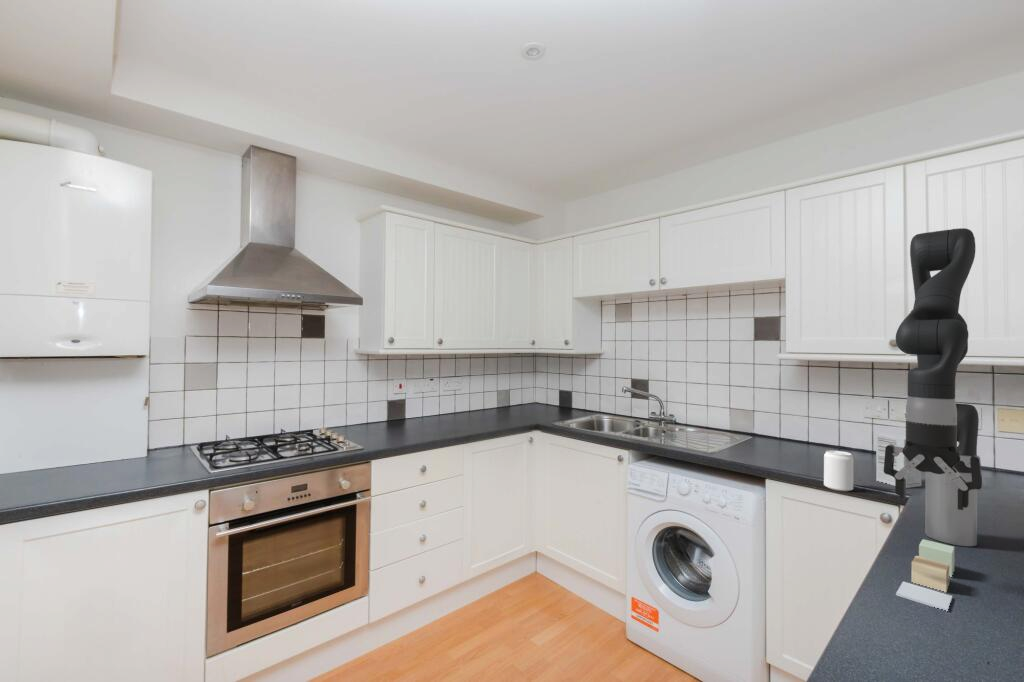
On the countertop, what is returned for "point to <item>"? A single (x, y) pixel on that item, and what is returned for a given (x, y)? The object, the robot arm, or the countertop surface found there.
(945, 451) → the robot arm
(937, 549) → the sage block
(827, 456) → the beverage can
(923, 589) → the white tile
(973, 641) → the countertop surface
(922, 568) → the maple block
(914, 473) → the supplement box
